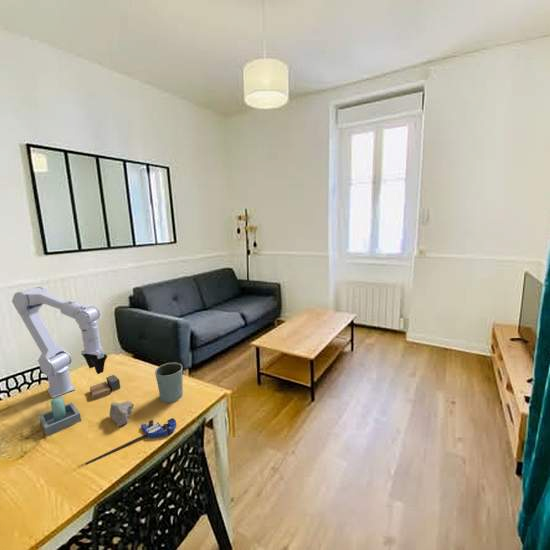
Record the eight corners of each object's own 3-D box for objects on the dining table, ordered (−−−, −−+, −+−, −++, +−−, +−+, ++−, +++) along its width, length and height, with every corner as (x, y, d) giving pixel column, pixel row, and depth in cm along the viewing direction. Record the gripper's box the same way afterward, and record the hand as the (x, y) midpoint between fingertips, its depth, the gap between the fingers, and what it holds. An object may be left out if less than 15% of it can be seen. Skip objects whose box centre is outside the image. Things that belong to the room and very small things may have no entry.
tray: (40, 422, 107) (38, 415, 107) (73, 409, 114) (71, 402, 114) (46, 435, 101) (45, 428, 100) (81, 420, 108) (79, 413, 107)
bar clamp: (168, 410, 109) (179, 424, 101) (169, 416, 109) (180, 430, 101) (59, 459, 89) (62, 481, 82) (61, 466, 90) (64, 489, 82)
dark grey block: (107, 386, 129) (106, 377, 129) (115, 383, 132) (113, 374, 131) (112, 391, 125) (111, 382, 125) (120, 388, 128) (119, 379, 127)
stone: (138, 420, 107) (136, 405, 106) (113, 430, 103) (110, 414, 101) (133, 406, 115) (131, 392, 114) (109, 415, 110) (106, 400, 109)
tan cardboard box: (90, 392, 126) (89, 386, 126) (106, 386, 130) (105, 381, 129) (94, 400, 120) (93, 395, 120) (110, 394, 124) (110, 389, 123)
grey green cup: (174, 386, 127) (172, 360, 125) (190, 394, 122) (187, 366, 119) (153, 398, 119) (149, 370, 117) (168, 407, 114) (165, 378, 111)
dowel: (53, 420, 107) (49, 400, 106) (65, 415, 110) (61, 395, 108) (55, 425, 105) (52, 404, 103) (68, 419, 108) (64, 399, 106)
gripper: (73, 337, 121) (78, 368, 124) (87, 346, 112) (92, 379, 115) (92, 331, 126) (97, 362, 129) (107, 339, 117) (112, 372, 120)
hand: (96, 370), depth 122 cm, fingers open, 7 cm apart
